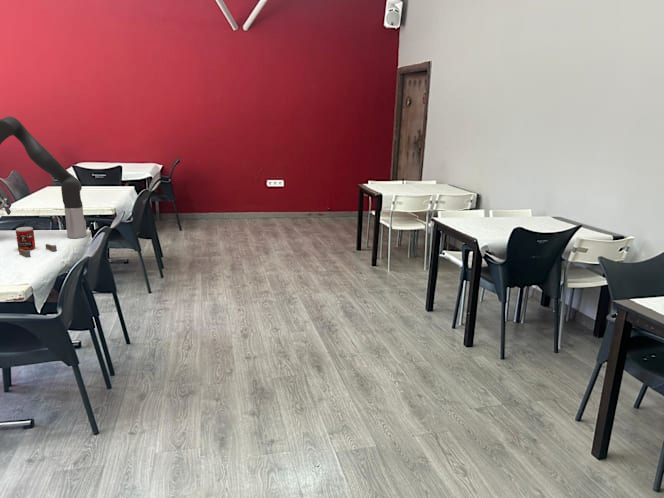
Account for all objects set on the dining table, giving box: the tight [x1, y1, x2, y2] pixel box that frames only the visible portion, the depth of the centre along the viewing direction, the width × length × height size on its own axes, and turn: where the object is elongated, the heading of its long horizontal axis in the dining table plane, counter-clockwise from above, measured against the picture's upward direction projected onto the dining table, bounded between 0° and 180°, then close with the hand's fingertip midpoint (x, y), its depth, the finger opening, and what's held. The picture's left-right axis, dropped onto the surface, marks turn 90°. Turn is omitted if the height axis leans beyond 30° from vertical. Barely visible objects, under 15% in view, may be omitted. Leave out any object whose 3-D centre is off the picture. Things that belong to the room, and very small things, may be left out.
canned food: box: [15, 226, 36, 251], centre depth 258 cm, size 8×8×11 cm
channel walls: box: [18, 243, 53, 257], centre depth 254 cm, size 14×6×2 cm, turn 148°
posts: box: [24, 244, 58, 258], centre depth 252 cm, size 15×2×3 cm, turn 148°
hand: (3, 214), depth 266 cm, fingers open, 5 cm apart
